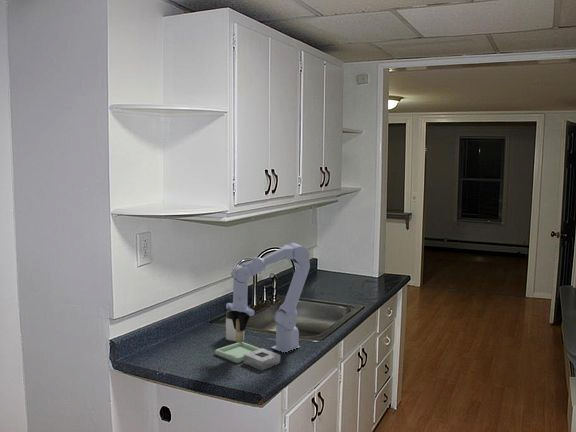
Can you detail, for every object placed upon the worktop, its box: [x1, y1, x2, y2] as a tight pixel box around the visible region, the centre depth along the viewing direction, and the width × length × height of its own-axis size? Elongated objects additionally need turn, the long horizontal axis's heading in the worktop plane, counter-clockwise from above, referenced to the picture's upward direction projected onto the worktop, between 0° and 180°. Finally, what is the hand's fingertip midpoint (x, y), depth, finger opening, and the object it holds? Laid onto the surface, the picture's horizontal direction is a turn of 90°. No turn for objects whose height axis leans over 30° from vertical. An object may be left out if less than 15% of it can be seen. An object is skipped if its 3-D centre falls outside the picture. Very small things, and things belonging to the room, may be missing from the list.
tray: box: [214, 341, 261, 364], centre depth 225 cm, size 14×13×2 cm
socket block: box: [243, 347, 281, 371], centre depth 216 cm, size 10×10×4 cm
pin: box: [235, 318, 244, 343], centre depth 224 cm, size 3×3×9 cm
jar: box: [225, 309, 246, 342], centre depth 244 cm, size 9×8×12 cm
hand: (239, 329), depth 224 cm, fingers closed on pin, 3 cm apart
